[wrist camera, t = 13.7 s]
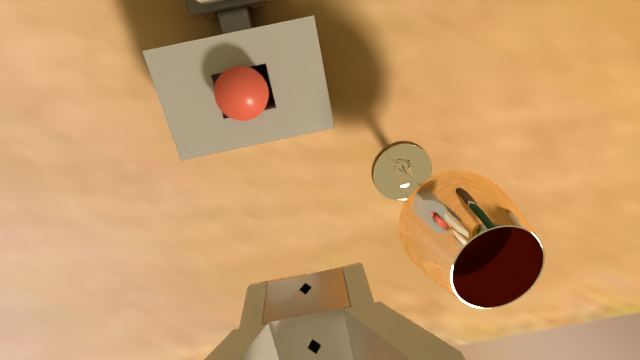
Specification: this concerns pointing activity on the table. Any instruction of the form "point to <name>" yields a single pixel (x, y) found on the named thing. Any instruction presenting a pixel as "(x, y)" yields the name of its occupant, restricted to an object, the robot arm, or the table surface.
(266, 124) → the grey holed block
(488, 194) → the wineglass
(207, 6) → the cream box
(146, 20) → the table surface
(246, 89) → the plunger
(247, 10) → the rail
